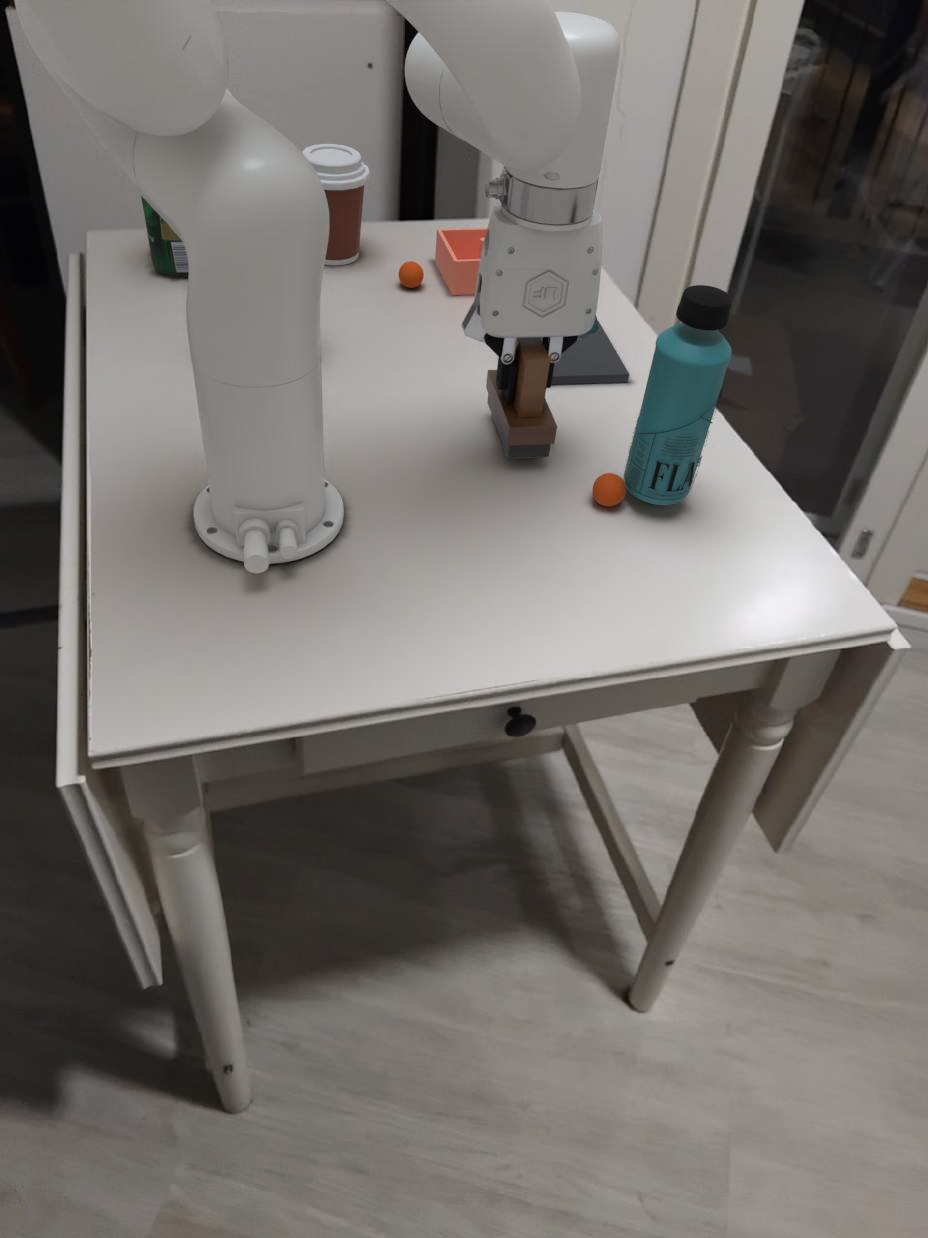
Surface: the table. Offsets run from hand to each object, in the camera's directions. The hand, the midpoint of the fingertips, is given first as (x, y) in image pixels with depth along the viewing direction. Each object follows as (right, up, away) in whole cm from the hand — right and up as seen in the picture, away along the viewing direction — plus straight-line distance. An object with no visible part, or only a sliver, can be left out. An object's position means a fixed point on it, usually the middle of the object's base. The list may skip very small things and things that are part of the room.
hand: (522, 392), depth 89 cm
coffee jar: (-39, +22, +25) cm, 52 cm away
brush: (0, -3, +3) cm, 4 cm away
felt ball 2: (+8, -10, -3) cm, 13 cm away
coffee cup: (-22, +25, +30) cm, 45 cm away
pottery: (-2, +18, +26) cm, 32 cm away
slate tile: (+5, +8, +16) cm, 19 cm away
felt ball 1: (-12, +20, +24) cm, 34 cm away
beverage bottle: (+12, -10, -1) cm, 16 cm away
